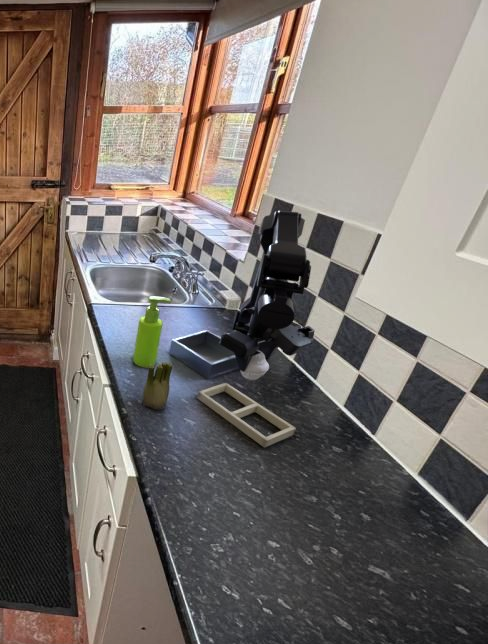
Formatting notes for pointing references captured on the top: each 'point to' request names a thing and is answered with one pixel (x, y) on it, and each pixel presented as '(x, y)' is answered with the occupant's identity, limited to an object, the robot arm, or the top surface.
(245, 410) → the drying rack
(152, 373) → the fennel bulb
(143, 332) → the soap dispenser
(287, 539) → the top surface
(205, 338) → the blue-grey square tray
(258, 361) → the white spiral shell
